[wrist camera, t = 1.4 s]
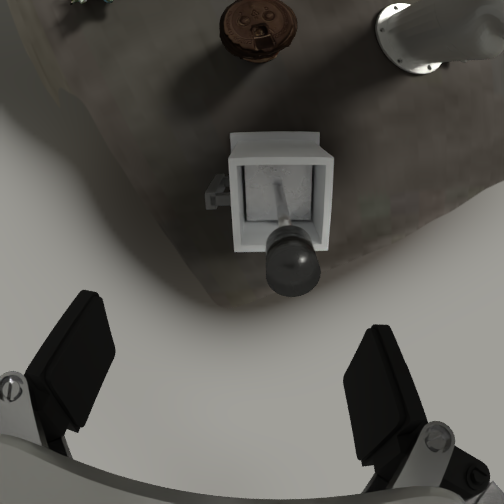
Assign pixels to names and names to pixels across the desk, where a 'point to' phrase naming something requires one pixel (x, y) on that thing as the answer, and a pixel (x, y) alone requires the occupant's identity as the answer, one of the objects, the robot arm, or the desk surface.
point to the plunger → (284, 224)
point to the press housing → (274, 153)
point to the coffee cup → (257, 29)
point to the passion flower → (83, 0)
